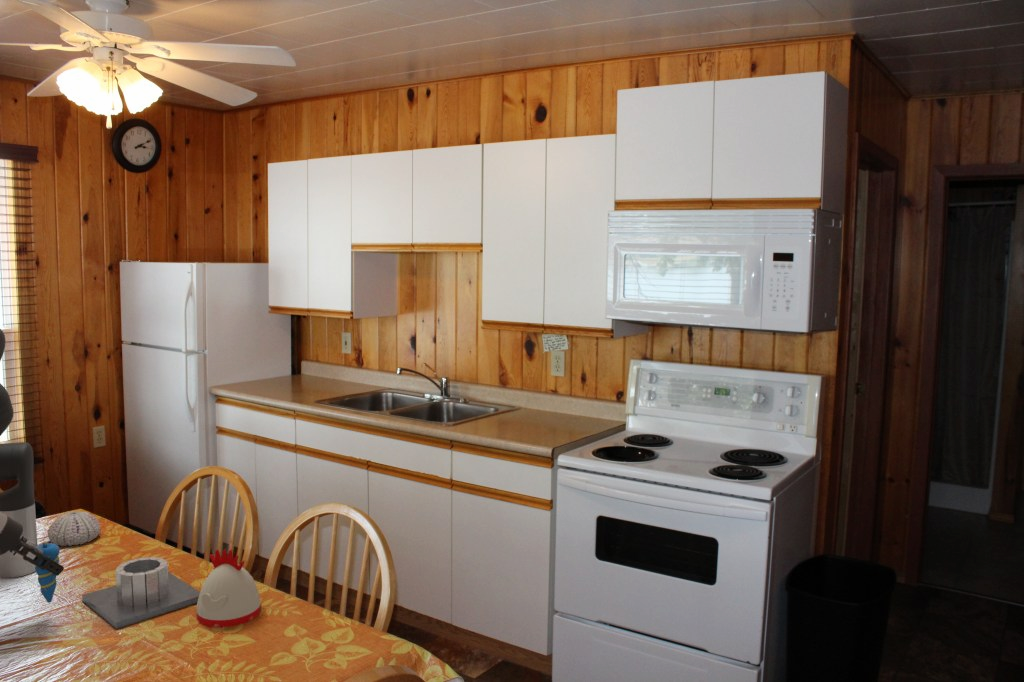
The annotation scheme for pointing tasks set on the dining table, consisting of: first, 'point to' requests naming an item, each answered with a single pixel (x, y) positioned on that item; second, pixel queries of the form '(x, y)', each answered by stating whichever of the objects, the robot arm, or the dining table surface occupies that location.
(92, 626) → the dining table surface
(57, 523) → the sea urchin shell
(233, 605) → the kitchen timer
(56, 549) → the ornament
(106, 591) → the tube on square plate
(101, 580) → the dining table surface
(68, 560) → the dining table surface
